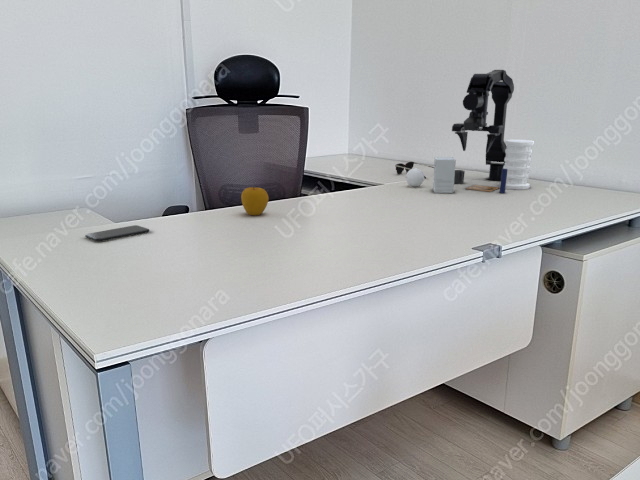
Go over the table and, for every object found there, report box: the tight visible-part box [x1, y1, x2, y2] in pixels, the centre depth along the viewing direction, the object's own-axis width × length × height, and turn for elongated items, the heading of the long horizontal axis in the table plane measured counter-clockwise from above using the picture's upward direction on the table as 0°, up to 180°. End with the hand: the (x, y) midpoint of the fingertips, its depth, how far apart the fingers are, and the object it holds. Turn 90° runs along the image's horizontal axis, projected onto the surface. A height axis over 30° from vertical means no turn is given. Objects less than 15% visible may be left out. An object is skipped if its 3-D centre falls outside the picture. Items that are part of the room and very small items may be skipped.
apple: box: [240, 186, 270, 217], centre depth 188 cm, size 8×8×9 cm
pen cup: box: [454, 169, 465, 185], centre depth 246 cm, size 5×5×5 cm
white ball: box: [405, 167, 425, 187], centre depth 238 cm, size 10×7×7 cm
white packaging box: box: [432, 156, 457, 194], centre depth 226 cm, size 7×7×13 cm
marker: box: [499, 169, 508, 194], centre depth 225 cm, size 2×2×9 cm
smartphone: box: [84, 224, 150, 242], centre depth 164 cm, size 8×1×16 cm
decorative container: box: [499, 139, 535, 190], centre depth 235 cm, size 12×12×18 cm
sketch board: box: [465, 184, 500, 193], centre depth 234 cm, size 10×10×1 cm
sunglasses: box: [394, 161, 434, 180], centre depth 265 cm, size 14×16×5 cm
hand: (475, 151), depth 228 cm, fingers open, 9 cm apart
